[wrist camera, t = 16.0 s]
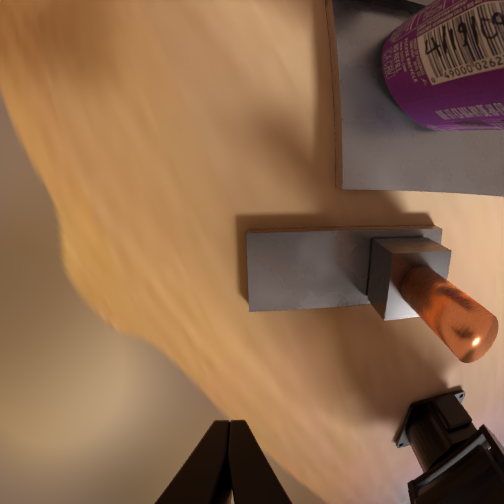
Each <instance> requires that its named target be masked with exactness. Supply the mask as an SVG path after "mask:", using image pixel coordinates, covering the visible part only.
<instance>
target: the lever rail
mask: <svg viewBox="0 0 504 504" xmlns="http://www.w3.org/2000/svg"><path fill="white" fill-rule="evenodd" d="M418 237H427V238H429V239H431V240H433V241H435V242H436V243H438V244H440V245H441V237H442V228H439V227H437V226H435V225H434V226H358V227H316V228H282V229H253V230H246V247H247V272H248V295H249V312H256V311H278V310H297V309H314V308H328V307H342V306H355V305H366V304H371V303H370V302H369V301H368V299H367V296H368V287H369V277H370V265H371V253H372V239H382V238H418Z"/></svg>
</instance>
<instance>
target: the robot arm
mask: <svg viewBox="0 0 504 504" xmlns="http://www.w3.org/2000/svg"><path fill="white" fill-rule="evenodd" d="M464 396H465V392H464V391H463V390H459V391H456V392H452V393H449V394H445V395H442V396H438V397H434V398H430V399H427V400H423V401H418V402H415V403H413V404H412V405H411V406H410V408H409V411H408V413H407V416H406V419H405V422H404V424H403V427H402V429H401V432H400V434H399V437H398V439H397V442H396V446H397V448H401V447H405V446H408V445H411V447H412V449H413V451H414V453H415V455H416V457H417V459H418V461H419V464H420V466H421V468H422V470H423V472H424V473H423V474H422V475H420V476H419V477H417V478H416V479H414V480H412V481H410V482H408V489H409V490H408V492H409V497H410V502H411V504H504V448H503V446H502V445H501V444H500V442H499V441H498V439H497V438H496V437H495V435H494V434H493V433H492V432H491V431H490V430H489V429H488V428H487V427H486V426H485V425H484V424H483V425H482V426H481V427H479V430H477V429H476V428H475V426H474V425H473V423H472V418H471V417H470V416H469V414H468V413H467V411H466V410H465V409H464V407H463V406H462V404H461V403H462V400H463V398H464ZM490 447H491V448H490ZM488 448H490V449H489V450H488ZM232 491H233V497H234V503H235V504H292V502H291V500H290V499H289V497H288V495H287V494H286V492H285V490H284V489H283V487H282V485H281V483H280V482H279V480H278V479H277V477H276V475H275V473H274V471H273V470H272V468H271V466H270V464H269V463H268V461H267V459H266V457H265V455H264V454H263V452H262V450H261V448H260V446H259V445H258V443H257V441H256V439H255V437H254V435H253V433H252V432H251V430H250V428H249V426H248V424H247V422H246V421H245V420H231V421H228V420H215V421H214V422H213V423H212V425H211V426H210V428H209V429H208V430H207V432H206V433H205V435H204V436H203V438H202V439H201V441H200V442H199V443H198V445H197V446H196V448H195V449H194V451H193V452H192V453H191V455H190V456H189V458H188V459H187V460H186V462H185V463H184V465H183V466H182V467H181V469H180V470H179V472H178V473H177V474H176V476H175V477H174V478H173V480H172V481H171V482H170V484H169V485H168V486H167V488H166V489H165V490H164V492H163V493H162V494H161V496H160V497H159V498H158V500H157V501H156V502H155V504H231V499H232Z"/></svg>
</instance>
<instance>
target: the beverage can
mask: <svg viewBox="0 0 504 504" xmlns="http://www.w3.org/2000/svg"><path fill="white" fill-rule="evenodd" d="M382 69H383V74H384V78H385V81H386V84H387V86H388V89H389V91H390V93H391V95H392V96H393V98H394V100H395V101H396V103H397V104H398V105H399V107H400V108H401V109H402V110H403V111H404V112H405V113H406V114H407V115H408V116H409V117H410V118H411V119H412V120H414V121H415V122H417V123H418V124H420V125H422V126H423V127H426V128H428V129H431V130H435V131H464V130H504V0H435V1H433V2H432V3H430V4H429V5H428V6H426V7H425V8H423V9H422V10H420V11H419V12H418V13H416V14H415V15H413V16H412V17H411V18H409V19H408V20H407V21H405V22H404V23H402V24H401V25H400V26H398V27H397V28H396V29H394V30H393V31H392V32H391V33H390V34H389V36H388V37H387V39H386V41H385V43H384V46H383V51H382Z"/></svg>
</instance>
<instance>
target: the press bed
mask: <svg viewBox="0 0 504 504" xmlns="http://www.w3.org/2000/svg"><path fill="white" fill-rule="evenodd" d="M433 1H435V0H325V5H326V13H327V23H328V32H329V43H330V54H331V67H332V82H333V100H334V123H335V170H336V187H337V188H340V189H343V190H399V191H426V192H446V193H463V194H478V195H491V196H503V197H504V130H464V131H435V130H431V129H428V128H426V127H423V126H422V125H420V124H418V123H417V122H415V121H414V120H412V119H411V118H410V117H409V116H408V115H407V114H406V113H405V112H404V111H403V110H402V109H401V108H400V107H399V105H398V104H397V103H396V101H395V100H394V98H393V96H392V95H391V93H390V91H389V89H388V86H387V84H386V81H385V78H384V74H383V69H382V51H383V46H384V43H385V41H386V39H387V37H388V36H389V34H390V33H391V32H392V31H393V30H394V29H396V28H397V27H398V26H400V25H401V24H402V23H404V22H405V21H407V20H408V19H409V18H411V17H412V16H413V15H415V14H416V13H418V12H419V11H420V10H422V9H423V8H425V7H426V6H428V5H429V4H430V3H432V2H433Z"/></svg>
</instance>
